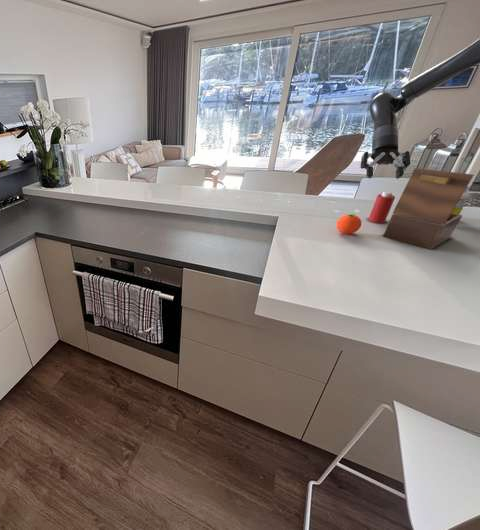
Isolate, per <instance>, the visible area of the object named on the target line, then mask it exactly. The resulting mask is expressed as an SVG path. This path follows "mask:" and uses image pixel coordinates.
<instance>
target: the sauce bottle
mask: <svg viewBox="0 0 480 530" xmlns="http://www.w3.org/2000/svg"><path fill="white" fill-rule="evenodd" d="M395 199H396V196H395V195H394V194H393V191H385V190H384V191H382V193H380V194H377V195H376V198H375V201H374V203H373V206H372V208H371V211H370V213H369V217H368V219H367V220H368V221H369V222H371V223H375V224H383V223H385V222H386V221H387V218H388V216H389V213H390V212H391V208H392V207H393V204H394V201H395Z"/></svg>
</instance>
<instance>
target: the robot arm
mask: <svg viewBox="0 0 480 530" xmlns="http://www.w3.org/2000/svg"><path fill="white" fill-rule="evenodd" d="M479 64H480V37H479V38H478V39H476V40H475V41H474V42H473V43H471V44H469V45H468V46H466V47H465V48H464V49H462V50H460V51H459V52H457V53H455V54H454V55H451V56H450V57H448V58H447V59H445V60H443V61H441V62H439V63H438V64H435V65H434V66H432V67H430V68H427V70H424V71H423V72H421V73H420V74H418V75H416V76H415V77H413V78H411V79H409V80H408V81H406V82H405V83H403V84H402V86H401V87H400V94H398V96H396V95H394V94H392V93H391V92H388V91H383V92H379V93H378V94H376V95H375V96H374V97H373V98H372V100H371V101H370V104H369V113H370V117H371V120H372V123H373V125H372V126H373V130H372V137H371V138H372V139H371V152H370V153H369V151H364V152H363V154H362V155H361V159H360V167H359V168H360V169H364V170H366V174H365V176H366V178H367V179H372V178H373V176H374V166H376V164H377V165H378V166H381V165H385V166H388V165H390V166H391V168H394V169H395V179H397V180H398V179H400V178H401V177H402V176H403V175H404V170H406V169H407V168H408V167H409V166H410V165H411V156H410V155H411V153H410V151H409V150H406V151H405V152H399V129H398V116H397V114H398V113H399V112H400V111H402V110H403V109H404V108H405V107H407V106H408V105H409V104H410V103H412V102H413V101H414V100H416V99H418V98H419V97H421V96H424V95H425V94H427V93H428V92H431V91H433V89H436V88H438V87H439V86H441V85H443V84H445V83H446V82H448V81H449V80H452V79H453V78H454V77H456V76H458V75H460V74H462V73H463V72H465V71H466V70H469V69H471V68H473V67H475V66H478V65H479ZM369 159H372V161H371V162H370V163H368V160H369Z"/></svg>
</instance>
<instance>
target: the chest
mask: <svg viewBox="0 0 480 530" xmlns="http://www.w3.org/2000/svg"><path fill="white" fill-rule="evenodd" d="M462 217H463V215H462V214H459V215H458V214H453V213H451V215H450V217H449V218H448V220H447V222H446V223H445V225H443V224H438V223H434V222H429V221H425V220H420V219H416V218H411V217H406V216H402V215H397V214H393V213H392V214H391V216H390V219H389V221H388V224H387V226H386V229H385V231H384V233H383V237H386V238H390V239H392V240H397V241H400V242H405V243H407V244H411V245H415V246H418V247H422V248H426V249H430V250H432V249H434V248H435V247H437V246H439V245H441V244H442V243H444V242H446V241H447V240H449V239H451V237H452V235H453V233H454V231H455V230H456V228H457V226H458V225H459V223H460V221H461V219H462Z"/></svg>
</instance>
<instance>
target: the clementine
mask: <svg viewBox="0 0 480 530" xmlns="http://www.w3.org/2000/svg"><path fill="white" fill-rule="evenodd" d="M361 227H362V220H361V218H360V217H359V216H358V215H356V214H355V213H347V214H344V215H342V216H340V217H339V218H338V220H337V221H336V229H337V230H338V231H339V232H340V233H342V234H344V235H351V234H354V233H356V232H358V231H359V230H360V229H361Z"/></svg>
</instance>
